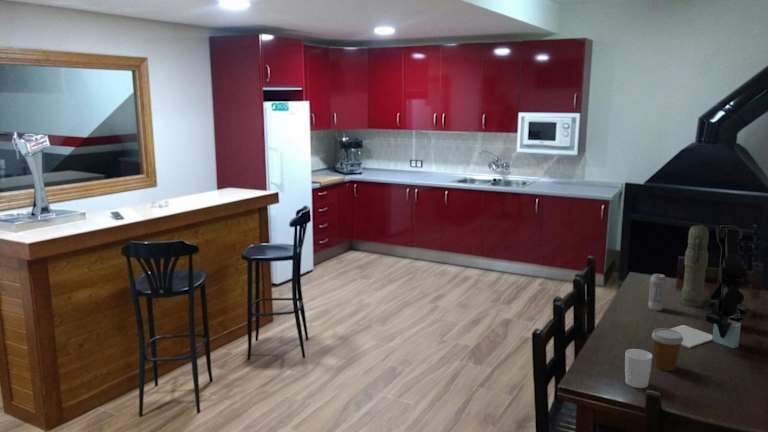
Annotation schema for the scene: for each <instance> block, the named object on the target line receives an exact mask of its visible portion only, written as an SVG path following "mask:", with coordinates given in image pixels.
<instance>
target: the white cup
mask: <svg viewBox="0 0 768 432" xmlns="http://www.w3.org/2000/svg"><path fill="white" fill-rule="evenodd" d="M653 358H654V355H653V354H652V353H651V352H649V351H647V350H644V349H639V348H630V349H629V348H628V349H627V350H625V353H624V374H625V378H624V381H625V384H626V385H628V386H630V387H632V388H637V389H644V388H647V387H648V386H649V383H650V382H649V381H650V377H651V370H652V365H653V364H652V363H653Z"/></svg>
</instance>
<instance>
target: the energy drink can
mask: <svg viewBox="0 0 768 432" xmlns="http://www.w3.org/2000/svg"><path fill="white" fill-rule="evenodd" d="M665 276H666V275H664V274H660V273H653V274H652V276H651V277H650V279H649V291H648V292H649V293H648V305H647V307H648V308H649V309H650V310H652V311H655V312H661V311H662V310H663V309H665V298H666V297H665V296H666V285H667V283H666V282H667V279H666V277H665Z"/></svg>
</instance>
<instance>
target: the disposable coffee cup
mask: <svg viewBox="0 0 768 432" xmlns="http://www.w3.org/2000/svg"><path fill="white" fill-rule="evenodd" d="M651 338H652V346H653V349H652V350H653V363H654V367H655V368H657V369H659V370H661V371H668V372H670V371H675V369H676V364H677V361H678V358H679V354H680V351H681V346H682V345H681V343H682V341H683V338H682V334H681V333H679V332H677V331H675V330H671V328H664V327H663V328H661V327H660V328H655V329H654V330H653V331H652V333H651Z"/></svg>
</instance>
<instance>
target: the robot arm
mask: <svg viewBox="0 0 768 432" xmlns="http://www.w3.org/2000/svg"><path fill="white" fill-rule="evenodd" d="M743 230H744V229H741V228H740V229H739V226H738V225H737V226H735V225H722V224H721V225H719V227H716V231H715V237H717V242H718V244H719V246H720V258H719V268H718V279H717V283H716V285H715V286H713V288H712V293H710V294H709V295H710V296H709V299H704V300H703V303H702V307H701V308H702V309H704V310H705V311H712V312H709V313H707V314H705V316H704V318H705V319H704V321H705V322H708V323H712V324H713V325H714V324H717V326H718V330H719V333H720V337H721V338H725V336H726V334H727V332H728V330H729V328H730V326H731V324H732V323H730V322H728V321H729V320H733V321H736V322H739V323H741V324H742V323H743V321H745V318H748V317H751V313H752V312H751V310H750V309H749V307H745V306H743V305H741V304H742V303H743V301H744V300H745V299H744V298H745V297H744V294H743V291H742V287H741V286H743V287H744V286H746V285H747V283H748V280H749V278H748V270H747V267H746V266H745V263H744V259H742V258H741V257H740V247H739V246H740V245H739V242H740V240H741V239H742V238H743ZM740 314H741V315H743V316H744V318H743V317H741V315H740Z"/></svg>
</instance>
